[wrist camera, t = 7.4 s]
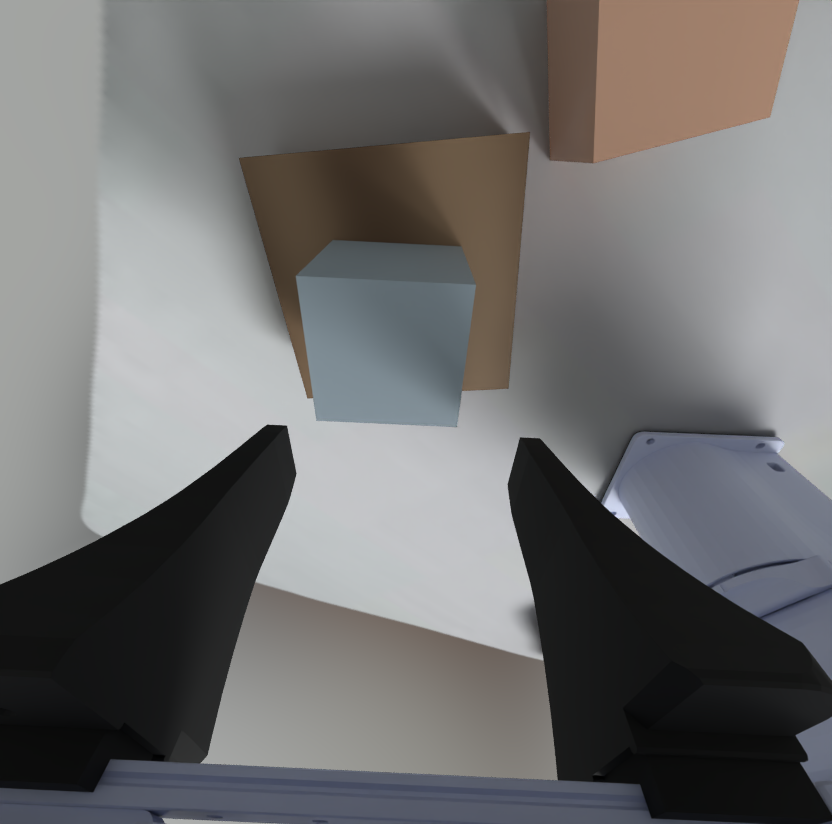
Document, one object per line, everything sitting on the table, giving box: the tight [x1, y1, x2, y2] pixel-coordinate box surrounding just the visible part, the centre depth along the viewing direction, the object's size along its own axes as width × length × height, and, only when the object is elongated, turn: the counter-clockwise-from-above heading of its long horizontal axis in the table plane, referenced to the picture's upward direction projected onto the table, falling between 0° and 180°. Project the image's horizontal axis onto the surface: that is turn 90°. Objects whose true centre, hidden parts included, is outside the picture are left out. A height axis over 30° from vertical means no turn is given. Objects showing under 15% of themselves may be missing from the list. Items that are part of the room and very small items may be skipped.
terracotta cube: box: [547, 0, 799, 163], centre depth 12 cm, size 5×5×5 cm
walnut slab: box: [239, 132, 530, 398], centre depth 17 cm, size 10×10×4 cm
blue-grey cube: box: [296, 240, 476, 427], centre depth 14 cm, size 5×5×5 cm
